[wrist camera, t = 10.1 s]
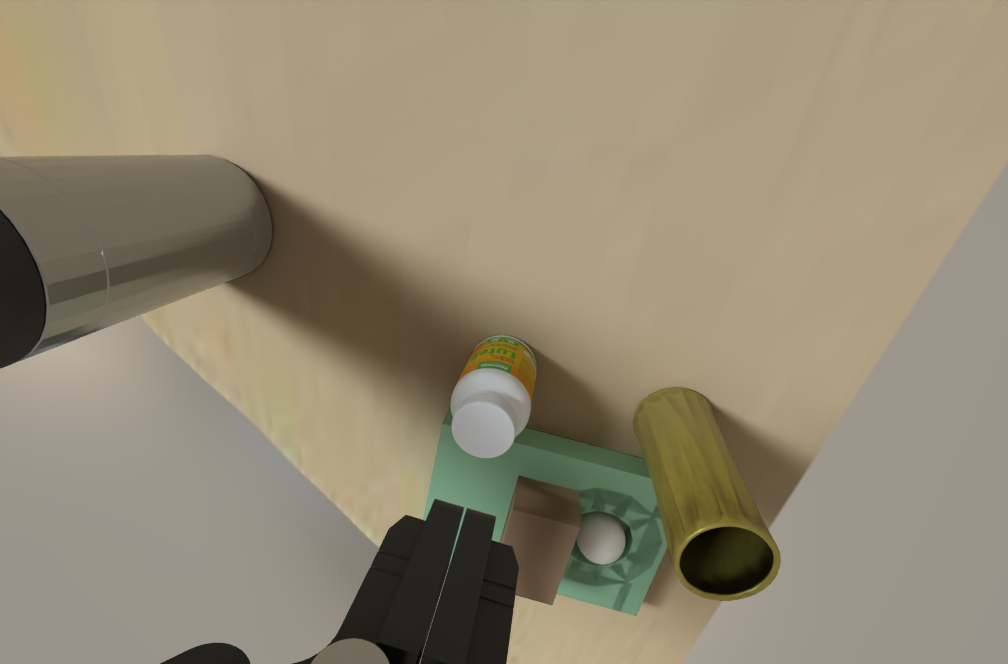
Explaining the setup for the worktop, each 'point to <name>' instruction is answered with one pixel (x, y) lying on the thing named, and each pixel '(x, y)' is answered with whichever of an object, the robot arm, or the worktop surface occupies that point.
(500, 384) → the supplement bottle
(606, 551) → the ball
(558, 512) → the block
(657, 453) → the vase
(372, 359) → the worktop surface
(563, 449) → the green
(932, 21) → the worktop surface
